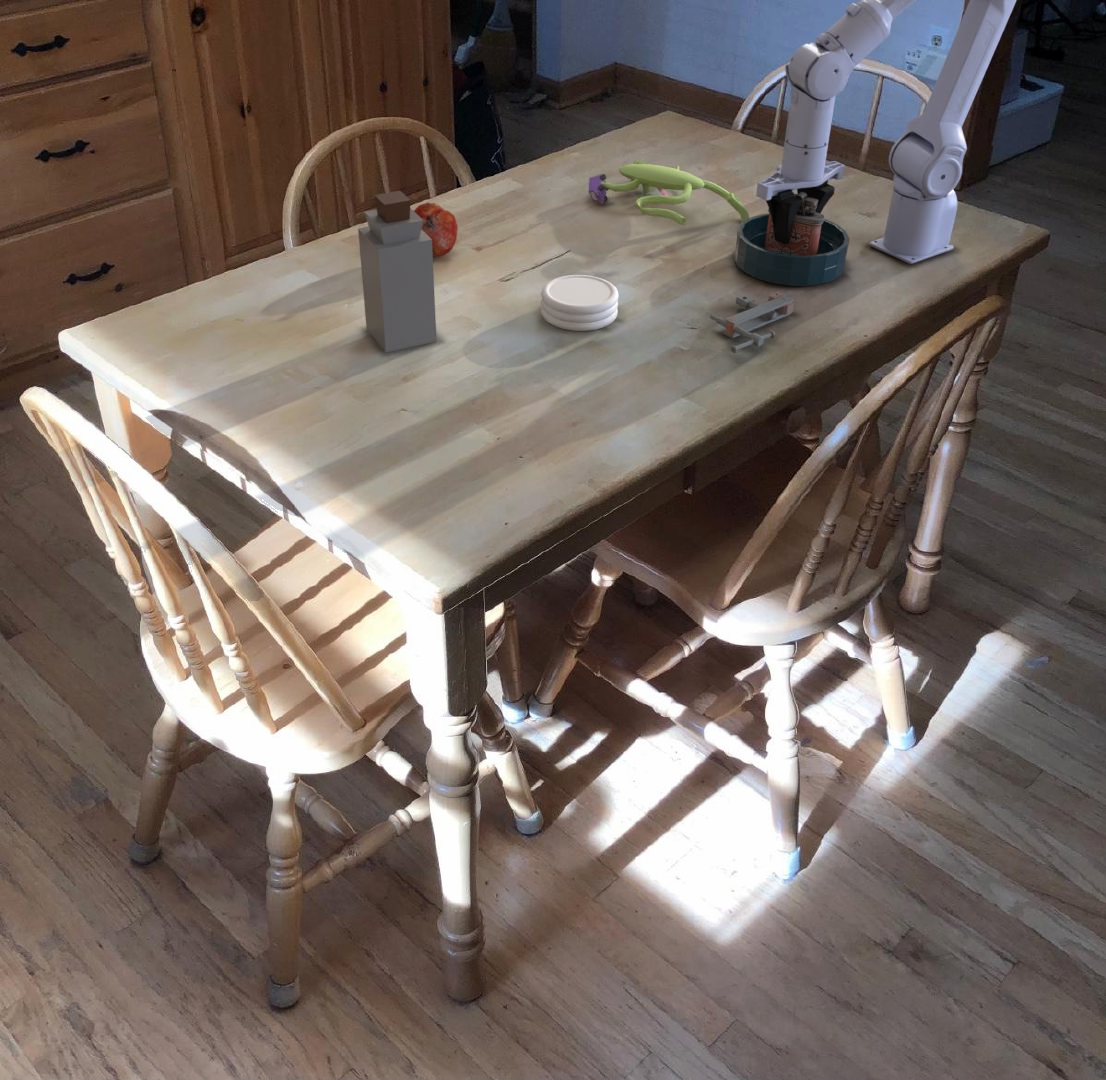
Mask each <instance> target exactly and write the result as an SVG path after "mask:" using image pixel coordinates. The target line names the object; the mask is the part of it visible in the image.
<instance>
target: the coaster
mask: <svg viewBox="0 0 1106 1080" xmlns="http://www.w3.org/2000/svg"><path fill="white" fill-rule="evenodd" d="M540 296H541V297H540V298H541V299H540V305H541V306H540V314H541V316H542V318H543V319H544V320H545V321H546V322H547V323H549V324H550V325H553V327H556V328H558V329H562V330H566V331H573V332H574V331H575V332H589V331H595V330H599V329H604V328H605V327H607V326H609V325H611V324H612V323H613V322H614V321H615V320H616V319H617V316H618V314H619V311H618V307H619V298H620V297H619V296H620V295H619V291H618V289H617V287H616V286H615V285H614V284H613V283H611V282H610V281H608V280H606V279H604V278H601V277H597V276H594V275H587V274H570V275H563V276H558V277H556V278H553V279H550V280H549V281H548V282H547V283H546V284H544V286H543V287H542V288H541V292H540Z"/></svg>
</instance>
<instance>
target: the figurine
mask: <svg viewBox="0 0 1106 1080" xmlns="http://www.w3.org/2000/svg"><path fill="white" fill-rule="evenodd" d="M618 171H619V173H620V174H621V176H623V177H625V178H627V179H629V180H630V181H629V182H625V183H620V184H612V183H609V182H606V179H607V175H606V174H605V173H602V174H598V175H594V176H591V177H589V178H588V190H587V191H588V193H589V195H590V197H591V199H592V200H593V201H594V202H598V203H599V204H600V205H602V204H605V203H606V202H608V200H609V197H608V195H607V191H613V192H615V193H618V192H620V193H621V192H622V193H623V192H629V191H635V190H637V189H638V188H639V186H640V185H641V186H642V190H643V195H644V196H640V197H639V198H637V199H636V200H635V205H636V207H637V209H638V210H639V211H640V213H641V214H642V215H643V216H649V217H654V218H657V217H658V218H665V219H669V220H671V221H673V222H675V223H677V224H679V225H680V226H684V225H686V223H687V218H686V217H684V216H683V215H681V214H679V213H678V212H677V211H676V212H675V211H673V210H670V209H666V208H649V207H643V206H645V205H652V204H661V205H662V204H663V205H672V206H673V205H681V204H684V203H686V202H687V201H688V200H689V199H690V197H691V194H692V191H695V190H700V189H706V190H708V191H711V192H713V193H715V194H716V195H718V196H720V197H722V198H723V199H724V200H725V201H726V202H727V203H728V204H729V205H730V206H731V207H732V208H733V209H734V210H735V211H736V212H737V213H738V214H739V215H740V218H741V220H742V222H744V221H745V220H747V219H748V218H750V214H749V211H748V210H747V209H746V208H745V206H744V205H743V204H742V202H741V200H740V198H739V197H738V196H737V195H736V194H735V193H733V192H730V191H728V190H726V189H725V188H724V187H722V186H720V185H718V184H716V183H714V182H712V181H709V180H704V179H701V178H700V177H698V176H695V175H694V174H691V172H687V171H684V170H681V169H680V165H677V166H676V167H670V166H664V165H658V164H649V163H647V162H644V161H642V160H639V159H636V160H634V161H633V163H630V164H626V165H622V166H620V167H619V168H618ZM652 188H655V189H657V190H658V191H659V192H660V193H661V194H662V195H657V194H656V195H647V194H648V193H649V192H650V190H651V189H652ZM666 190H671V191H682V194H681V195H677V196H670V195H669V194H668V193H667V191H666Z"/></svg>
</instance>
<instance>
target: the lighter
mask: <svg viewBox="0 0 1106 1080" xmlns="http://www.w3.org/2000/svg"><path fill="white" fill-rule="evenodd" d="M792 194H794V197H795V198H797V199H800V200H802V201H803V202H802V204H801V205H800V207H799V209H798V211H797V213H796V216H795V219H794V222H793V227H792V232H791V237H790V240H789V242H788V244H782V243H780V242H778V241H776V240H775V238H774V229H773V222H772V217H771V213H770V210H769V209H768V210H767V211H768V212H767V213H769V219H768V227H767V234H766V241H765V250H769V251H772V252H776V253H781V254H788V255H817V249H818V243H819V237H820V231H821V225H822V223H823V221H824V219H825V216H824V214H822V213H817V212H815V211H816V208H817V204H818V200H817V199H814V198H810V197H808V195H807V194H806V193H805V192H801V193H799V194H797V193H795V192H794V191H792Z"/></svg>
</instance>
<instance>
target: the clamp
mask: <svg viewBox="0 0 1106 1080" xmlns="http://www.w3.org/2000/svg"><path fill="white" fill-rule="evenodd" d="M735 304H736V305H737V306H740V307H742V308H744V309H745V310H744V311H741V312H739V313H737V314H736V313H735V314H734V315H731V316H728V317H726V318H725V319H724V318H722V317H720V316H716V315H714V314H712V313H711V314H709V318H710V319H711V320H713V321H714V322H716V323H717V324H719V326H720V325H721V326H722V327H724V328H725V330H723V331H724V332H723V334H724V336H725V335H726V337H729V338H732V339H734V338H737V337H739V336H742V337H743V338H745V339H747V340H748V341H745V342H742V343H740V344H737V345H734V344H733V345H731V346H730V352H731V353H732V354H736V353H737V352H738V350H742V349H744V348H746V347H749V346H752V345H754V346H756V347H757V348H759V347H761V346H762V345H763V344H764V342H765V340H766V339H769V338H771V339H774V338H775V336H776V333H775V331H774V330H773V329H771V330H769V331H768V332H767V333H765V334H763V335H760V334H758V333H757V332H753V333H751V331H753V330H756V329H759V328H762V327H764V326H765V325H768V324H770V323H773V322H775V321H778V320H780V319H782V318H785V317H787V316H790V315H791V314H792V313H793V312H794V307H795V301H794V299H793V298H792V297H789V296H787V295H786V294H785V293H783V292H781V291H776V292H775V294H772V293H769V294H768V300H767V301H765V302H764V303H762V304H759V303H757V302H755V299H754V298H752V297H750V296H748V295H746V294H743V293H742V294H740V295H737V296H736V298H735Z"/></svg>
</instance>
